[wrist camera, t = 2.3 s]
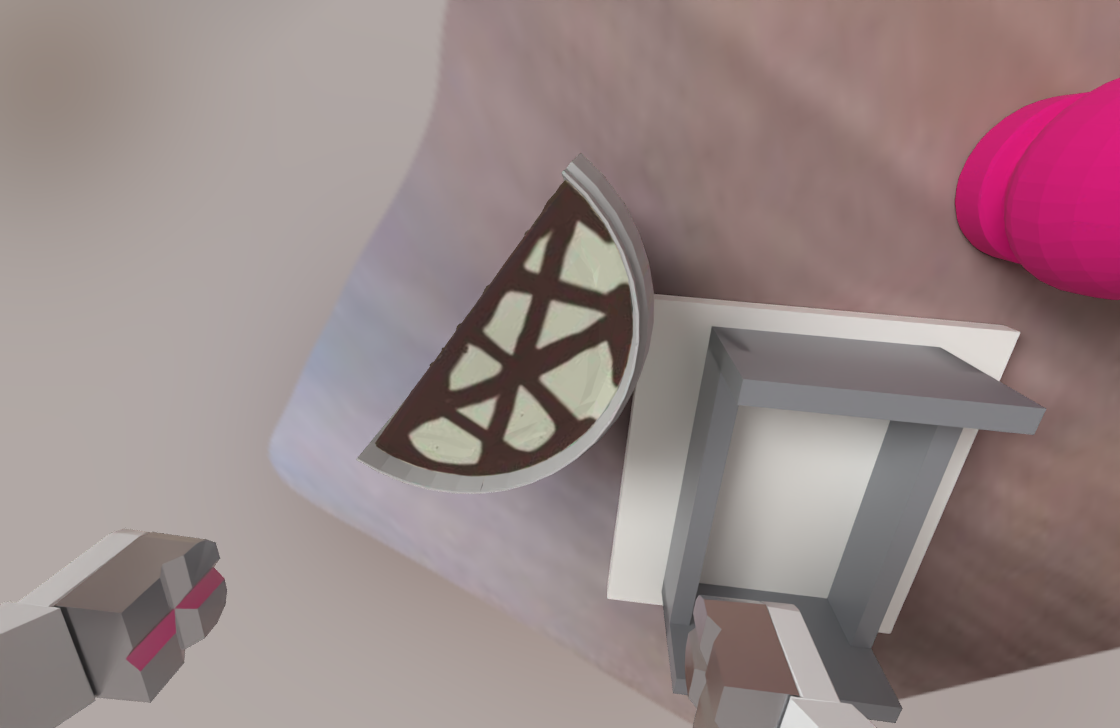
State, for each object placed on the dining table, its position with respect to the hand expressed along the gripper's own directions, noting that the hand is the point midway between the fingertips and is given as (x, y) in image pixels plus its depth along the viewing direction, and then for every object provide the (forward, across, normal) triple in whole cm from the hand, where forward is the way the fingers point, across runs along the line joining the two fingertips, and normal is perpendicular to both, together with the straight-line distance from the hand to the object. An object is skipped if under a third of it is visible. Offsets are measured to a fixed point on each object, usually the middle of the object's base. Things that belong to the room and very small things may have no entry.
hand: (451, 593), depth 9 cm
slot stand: (+17, -12, +8) cm, 23 cm away
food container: (+18, 0, 0) cm, 18 cm away
